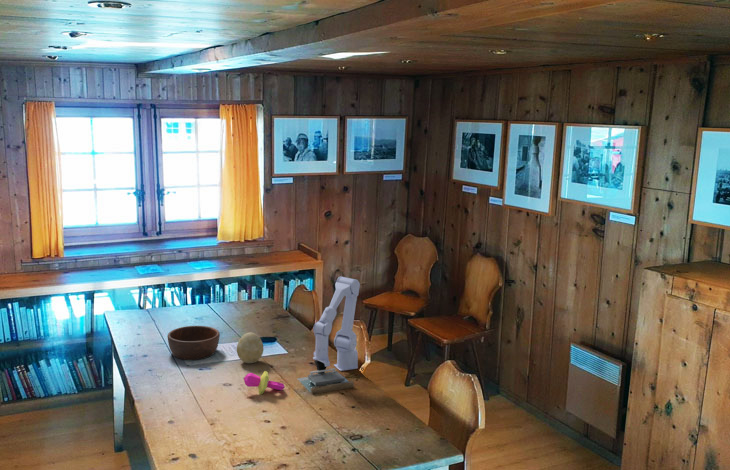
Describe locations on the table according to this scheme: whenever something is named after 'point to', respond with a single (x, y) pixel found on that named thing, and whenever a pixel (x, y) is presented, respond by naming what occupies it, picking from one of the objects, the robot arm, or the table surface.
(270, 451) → the table surface
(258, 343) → the fossilized egg
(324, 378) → the cabinet door with handle
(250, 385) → the toy
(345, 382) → the dock bay
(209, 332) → the wooden bowl
